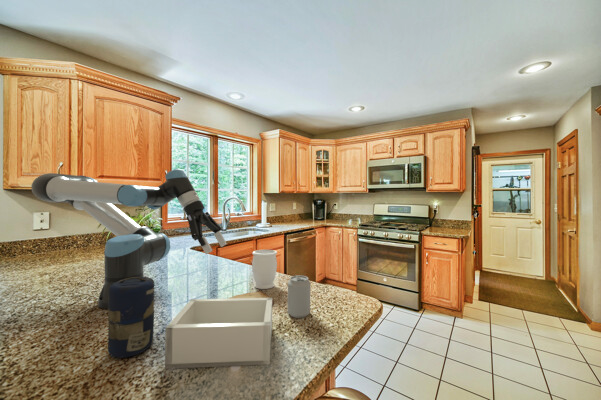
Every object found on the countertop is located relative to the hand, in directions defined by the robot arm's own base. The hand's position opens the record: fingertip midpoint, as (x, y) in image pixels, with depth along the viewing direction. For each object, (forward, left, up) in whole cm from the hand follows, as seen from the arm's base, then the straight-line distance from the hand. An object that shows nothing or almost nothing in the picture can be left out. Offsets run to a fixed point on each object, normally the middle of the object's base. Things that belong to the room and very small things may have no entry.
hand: (217, 248), depth 103 cm
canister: (-11, -39, -17) cm, 44 cm away
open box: (+12, -39, -17) cm, 45 cm away
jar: (+19, +5, -17) cm, 26 cm away
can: (+32, -22, -17) cm, 43 cm away
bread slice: (+13, -16, -18) cm, 27 cm away
